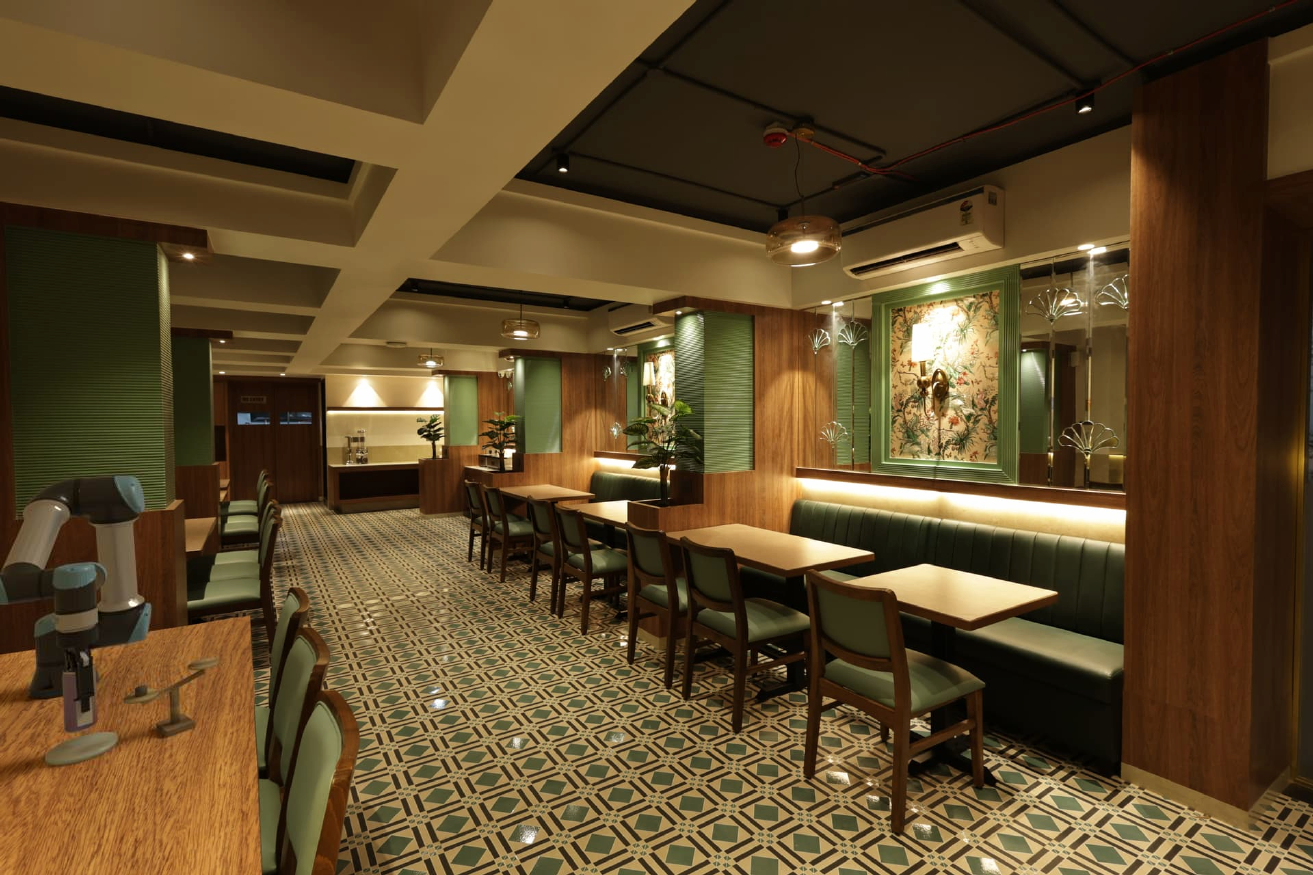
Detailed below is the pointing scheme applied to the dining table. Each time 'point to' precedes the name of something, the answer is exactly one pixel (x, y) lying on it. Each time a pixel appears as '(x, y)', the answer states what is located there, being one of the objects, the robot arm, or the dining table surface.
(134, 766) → the dining table surface
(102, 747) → the dish
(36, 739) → the dining table surface
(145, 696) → the balance
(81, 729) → the beverage can
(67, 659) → the robot arm
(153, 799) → the dining table surface
